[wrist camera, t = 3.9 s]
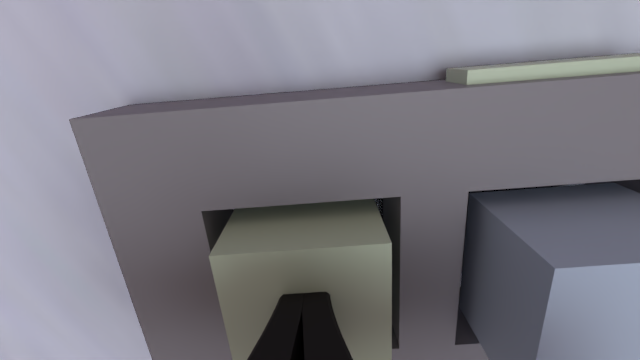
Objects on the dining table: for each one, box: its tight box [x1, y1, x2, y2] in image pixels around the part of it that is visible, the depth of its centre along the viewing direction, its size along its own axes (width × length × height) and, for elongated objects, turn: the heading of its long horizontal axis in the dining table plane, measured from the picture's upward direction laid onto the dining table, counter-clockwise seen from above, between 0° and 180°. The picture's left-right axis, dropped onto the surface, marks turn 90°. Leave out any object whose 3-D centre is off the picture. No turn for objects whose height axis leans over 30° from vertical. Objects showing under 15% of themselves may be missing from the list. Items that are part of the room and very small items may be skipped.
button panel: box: [69, 53, 640, 360], centre depth 12 cm, size 12×28×3 cm, turn 94°
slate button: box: [459, 183, 640, 360], centre depth 10 cm, size 5×5×4 cm
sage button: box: [209, 199, 392, 360], centre depth 11 cm, size 5×5×4 cm
